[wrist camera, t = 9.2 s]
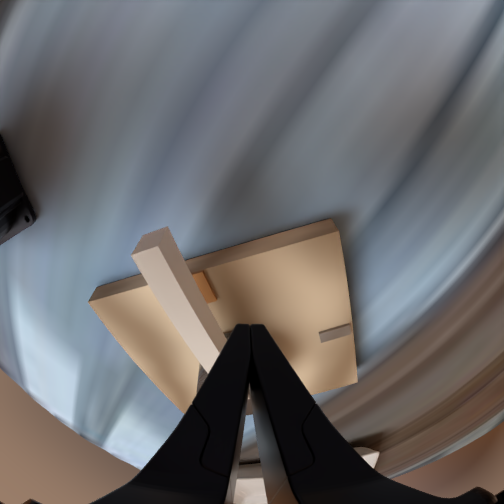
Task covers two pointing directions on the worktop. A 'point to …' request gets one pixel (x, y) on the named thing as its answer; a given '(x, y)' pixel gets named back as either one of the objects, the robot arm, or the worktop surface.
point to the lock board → (247, 310)
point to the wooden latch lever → (181, 299)
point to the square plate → (252, 484)
